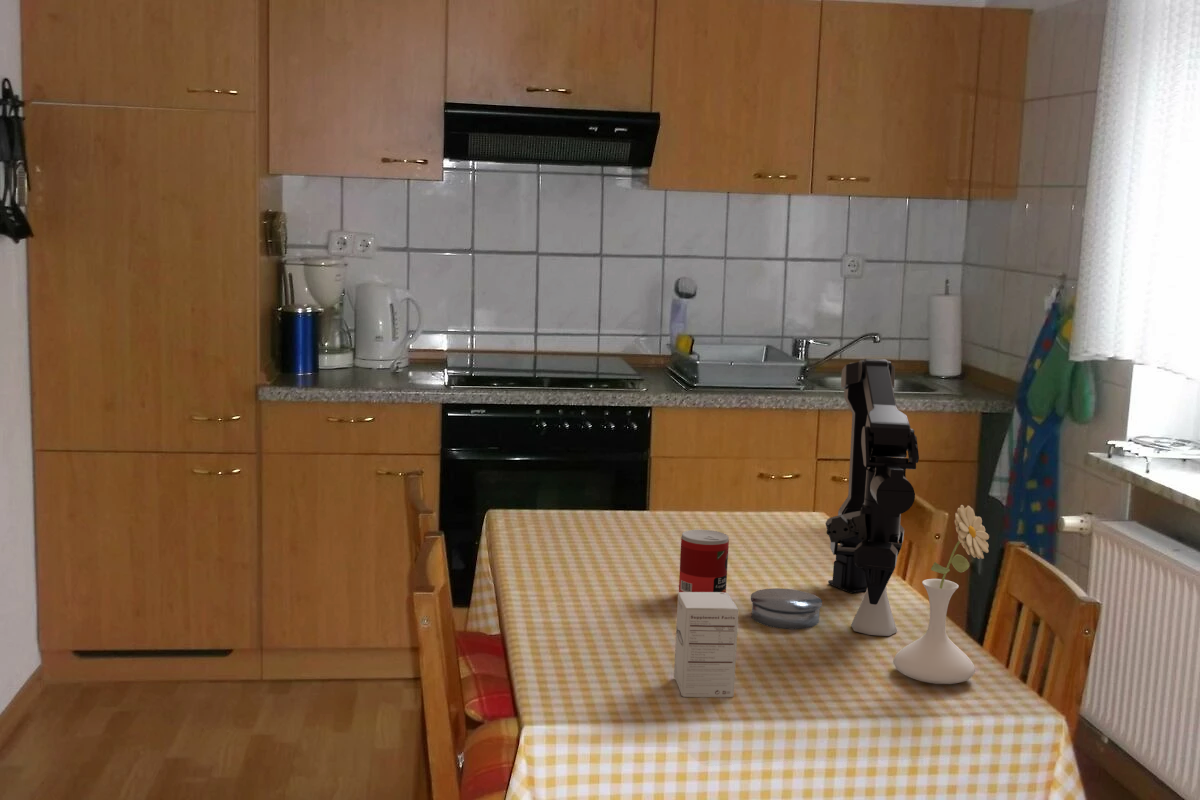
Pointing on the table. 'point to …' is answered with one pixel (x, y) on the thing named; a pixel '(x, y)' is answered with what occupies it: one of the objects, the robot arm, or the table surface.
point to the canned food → (703, 561)
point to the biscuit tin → (785, 608)
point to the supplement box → (706, 644)
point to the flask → (874, 617)
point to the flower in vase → (944, 614)
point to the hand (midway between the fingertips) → (876, 595)
